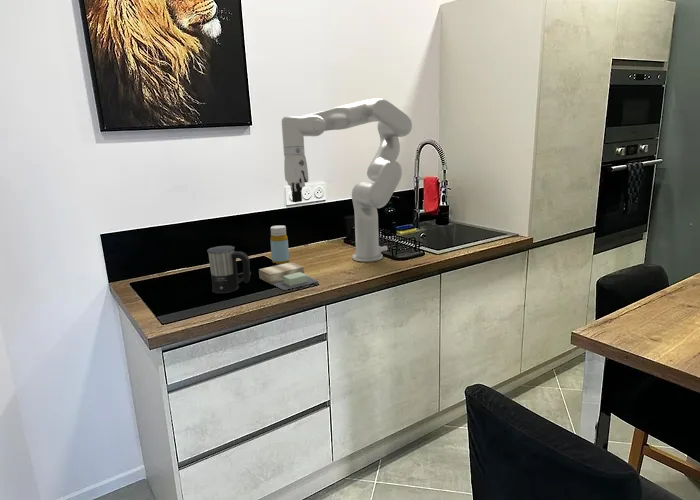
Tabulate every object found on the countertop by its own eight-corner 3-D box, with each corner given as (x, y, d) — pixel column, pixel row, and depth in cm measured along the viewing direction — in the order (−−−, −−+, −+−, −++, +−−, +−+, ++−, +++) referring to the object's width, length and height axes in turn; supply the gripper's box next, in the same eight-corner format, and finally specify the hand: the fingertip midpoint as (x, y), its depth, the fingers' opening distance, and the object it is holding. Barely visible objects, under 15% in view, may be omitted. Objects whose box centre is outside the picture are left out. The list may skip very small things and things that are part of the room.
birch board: (292, 270, 187) (291, 262, 187) (304, 275, 180) (303, 266, 180) (259, 278, 180) (258, 269, 179) (270, 284, 172) (269, 274, 172)
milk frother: (211, 295, 163) (206, 253, 159) (212, 281, 178) (207, 242, 174) (254, 290, 166) (250, 249, 163) (251, 277, 181) (247, 239, 178)
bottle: (269, 263, 198) (266, 228, 194) (277, 259, 204) (275, 224, 201) (283, 265, 195) (281, 229, 192) (292, 260, 202) (289, 225, 198)
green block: (307, 275, 172) (307, 281, 172) (299, 272, 175) (300, 278, 176) (290, 279, 168) (290, 286, 168) (282, 276, 171) (283, 282, 172)
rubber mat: (304, 276, 180) (304, 275, 180) (318, 282, 173) (318, 281, 172) (271, 284, 172) (270, 283, 172) (284, 290, 165) (284, 289, 165)
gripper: (313, 151, 171) (316, 202, 176) (292, 150, 183) (296, 198, 188) (295, 152, 167) (298, 205, 172) (275, 151, 179) (278, 200, 183)
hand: (297, 201), depth 180 cm, fingers closed
